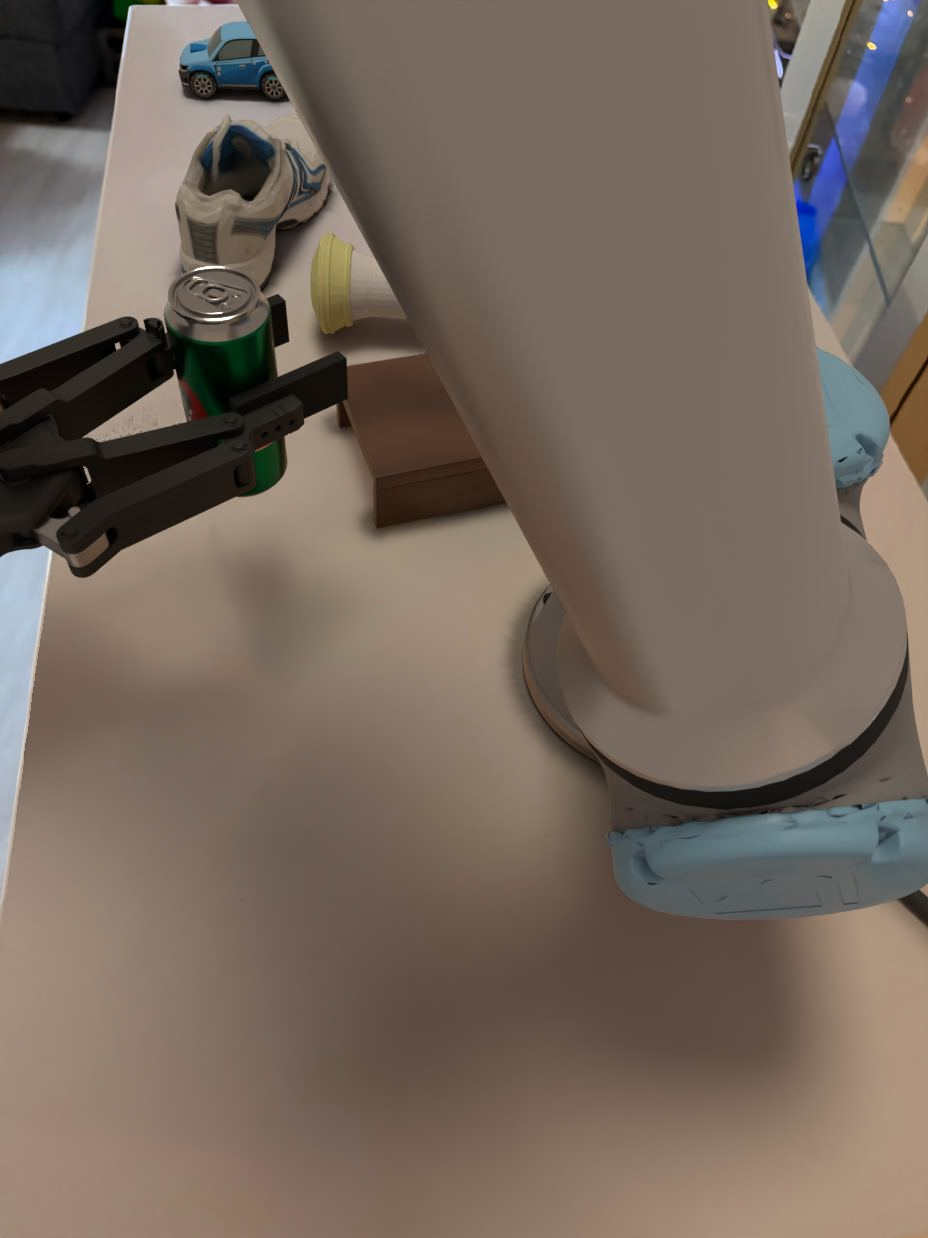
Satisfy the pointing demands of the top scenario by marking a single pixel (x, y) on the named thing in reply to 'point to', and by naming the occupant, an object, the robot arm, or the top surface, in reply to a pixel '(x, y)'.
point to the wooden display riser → (413, 442)
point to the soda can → (223, 350)
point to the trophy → (348, 286)
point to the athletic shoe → (248, 193)
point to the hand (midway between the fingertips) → (312, 346)
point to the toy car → (228, 63)
